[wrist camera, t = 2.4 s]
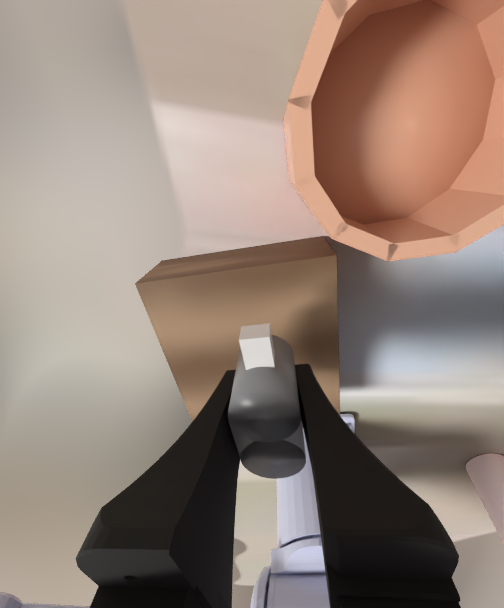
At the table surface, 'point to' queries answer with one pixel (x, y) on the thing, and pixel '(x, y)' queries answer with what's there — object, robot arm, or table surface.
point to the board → (245, 311)
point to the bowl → (401, 124)
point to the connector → (266, 405)
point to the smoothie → (490, 486)
